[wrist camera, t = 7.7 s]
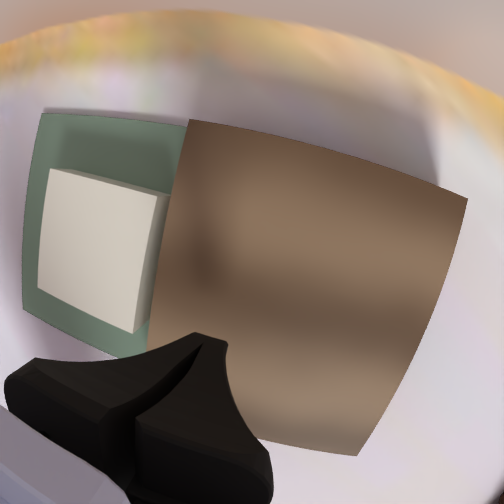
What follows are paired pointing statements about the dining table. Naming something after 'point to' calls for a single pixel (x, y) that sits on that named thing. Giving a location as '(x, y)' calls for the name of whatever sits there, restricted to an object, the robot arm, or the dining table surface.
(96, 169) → the rubber mat
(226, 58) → the dining table surface
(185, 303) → the walnut step
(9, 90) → the dining table surface
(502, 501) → the decorative turtle
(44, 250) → the coaster
